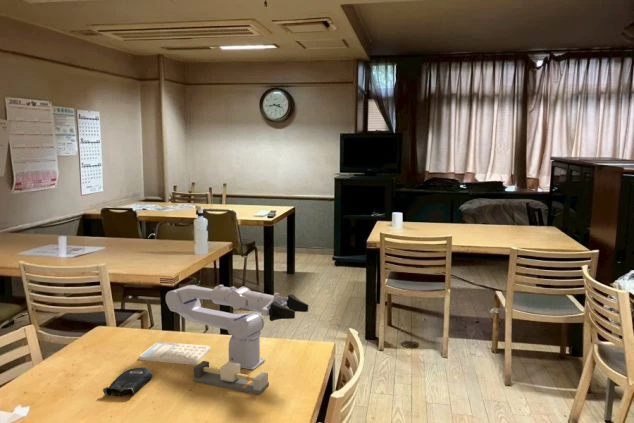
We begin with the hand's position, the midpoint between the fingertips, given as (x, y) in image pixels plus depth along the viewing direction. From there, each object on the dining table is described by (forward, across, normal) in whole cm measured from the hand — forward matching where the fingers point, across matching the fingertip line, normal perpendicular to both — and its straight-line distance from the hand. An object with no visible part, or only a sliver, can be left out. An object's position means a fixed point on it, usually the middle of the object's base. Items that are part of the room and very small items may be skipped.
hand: (301, 311), depth 151 cm
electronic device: (-39, -28, +23) cm, 54 cm away
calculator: (-44, -6, +23) cm, 50 cm away
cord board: (-15, -13, +21) cm, 29 cm away
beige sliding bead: (-15, -13, +20) cm, 28 cm away
